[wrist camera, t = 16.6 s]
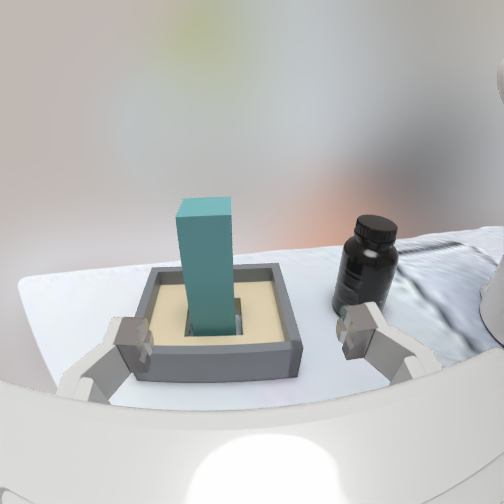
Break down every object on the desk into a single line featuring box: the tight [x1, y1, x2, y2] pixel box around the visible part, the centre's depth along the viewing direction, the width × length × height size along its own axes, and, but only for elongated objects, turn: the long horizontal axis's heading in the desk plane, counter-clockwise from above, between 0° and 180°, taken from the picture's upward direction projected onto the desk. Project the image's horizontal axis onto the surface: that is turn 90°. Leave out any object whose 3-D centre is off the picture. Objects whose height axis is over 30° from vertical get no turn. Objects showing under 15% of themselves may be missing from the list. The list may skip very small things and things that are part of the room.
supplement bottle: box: [333, 215, 398, 316], centre depth 32 cm, size 7×7×12 cm
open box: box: [134, 263, 303, 382], centre depth 30 cm, size 16×14×4 cm
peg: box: [176, 197, 236, 337], centre depth 27 cm, size 4×4×15 cm
